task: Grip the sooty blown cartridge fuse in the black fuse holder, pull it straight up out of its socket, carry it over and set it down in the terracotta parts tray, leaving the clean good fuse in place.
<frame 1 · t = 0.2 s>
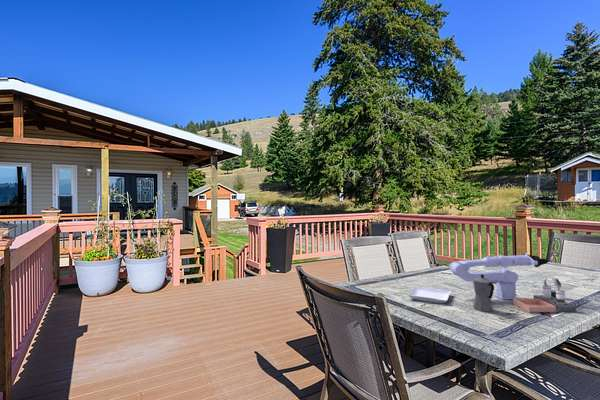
hand: (543, 259, 196), 21 cm above the table, tool horizontal, fingers open, 7 cm apart
blown fuse: (560, 308, 177), resting in fuse holder
fuse holder: (553, 305, 182), on the table
good fuse: (547, 302, 187), resting in fuse holder
parts tray: (533, 308, 178), on the table
watch: (552, 297, 197), on the table
salad plate: (430, 298, 200), on the table
coffeepot: (484, 310, 178), on the table
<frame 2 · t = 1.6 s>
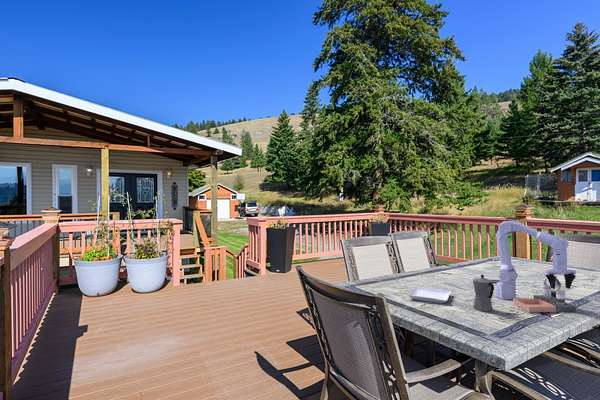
hand: (560, 288, 177), 10 cm above the table, tool pointing down, fingers open, 7 cm apart
nothing on the table moved.
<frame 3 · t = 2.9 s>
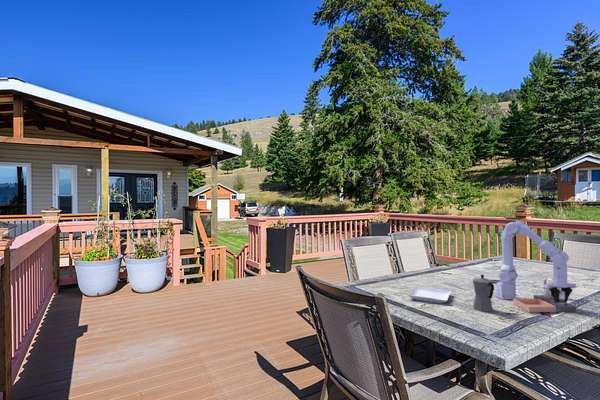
hand: (560, 301, 177), 3 cm above the table, tool pointing down, fingers closed on blown fuse, 4 cm apart
blown fuse: (560, 308, 177), resting in fuse holder, touching gripper
everything else where it was.
when the fingers open (5 cm above the table, at t = 7.4 s): blown fuse drops 1 cm, resting on parts tray.
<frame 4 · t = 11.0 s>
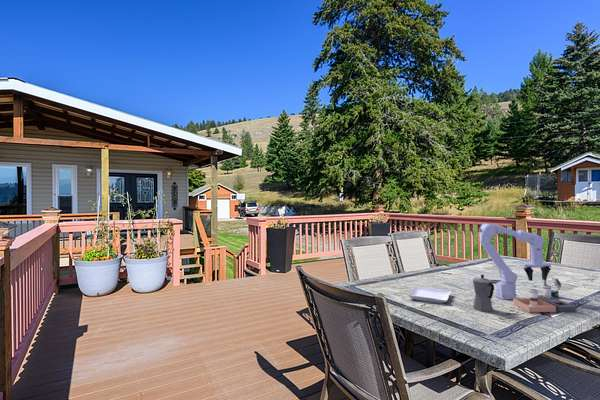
hand: (537, 280, 194), 10 cm above the table, tool pointing down, fingers open, 7 cm apart
blown fuse: (533, 307, 178), point 1 cm above the table, touching parts tray
everything else where it was.
at the end: blown fuse inside the target area on the parts tray (0.1 cm from its centre), point 0.5 cm above the parts tray's base; the gripper is holding nothing; good fuse moved 0.0 cm from its start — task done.
